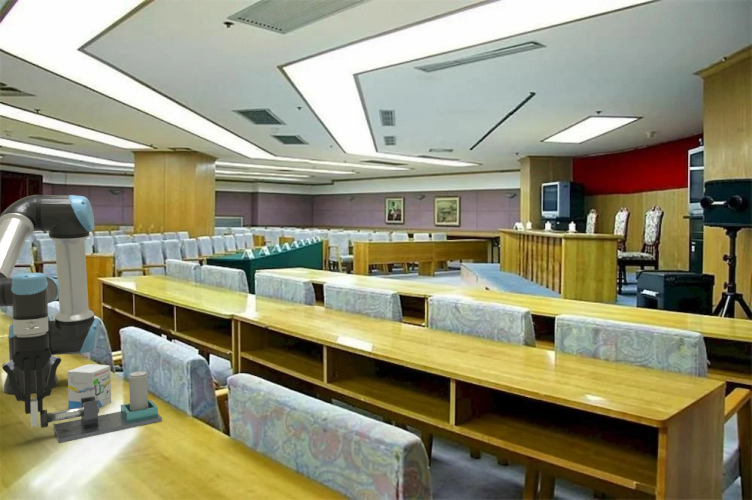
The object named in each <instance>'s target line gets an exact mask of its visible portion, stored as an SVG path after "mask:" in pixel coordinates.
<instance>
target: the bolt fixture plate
mask: <svg viewBox="0 0 752 500" xmlns="http://www.w3.org/2000/svg"><path fill="white" fill-rule="evenodd" d="M81 407H83V415H84V416H81V417H80V418H79V419H76V420H75V419H74V420H70V421H69V420H68V421H64V422H59V423H55V424H53V430H54V432H55V435H56V439H57V441H58V443H66V442H70V441H74V440H79V439H83V438H89V437H93V436H98V435H102V434H107V433H111V432H116V431H121V429H122V430H126V428H127V429H131V427H132V428H136V427H141V426H145V425H150V424H155V423H158V422H159V423H160V422H162V421H163V420H162V419H163V418H162V416H161V415H160V414H159V407H158V406H157V405H156V404H155V403H154V402H153V401H152V400H151V399H148V408H147V409H142V410H137V411H131V412H130V402H129V403H123V404H120V411H117V412H116V411H115V412H111V413H106V414H101V415H99V413H98V401H97V400H95V396H91V397H85V398H81Z"/></svg>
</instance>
